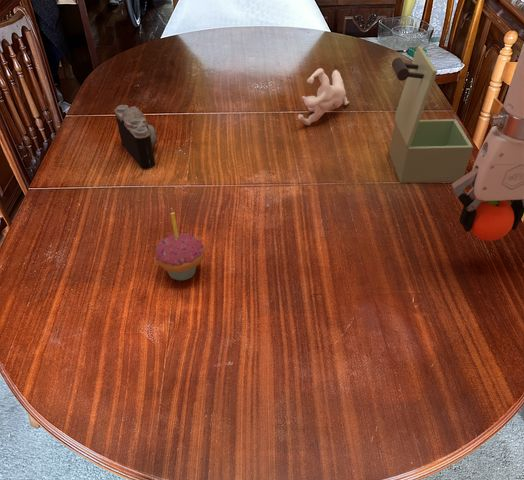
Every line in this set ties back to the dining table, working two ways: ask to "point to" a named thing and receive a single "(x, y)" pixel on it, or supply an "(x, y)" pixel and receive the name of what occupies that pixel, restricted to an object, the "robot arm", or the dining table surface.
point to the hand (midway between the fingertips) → (488, 225)
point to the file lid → (413, 91)
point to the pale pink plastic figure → (324, 96)
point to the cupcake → (179, 253)
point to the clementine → (492, 220)
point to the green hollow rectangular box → (431, 152)
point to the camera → (136, 135)
